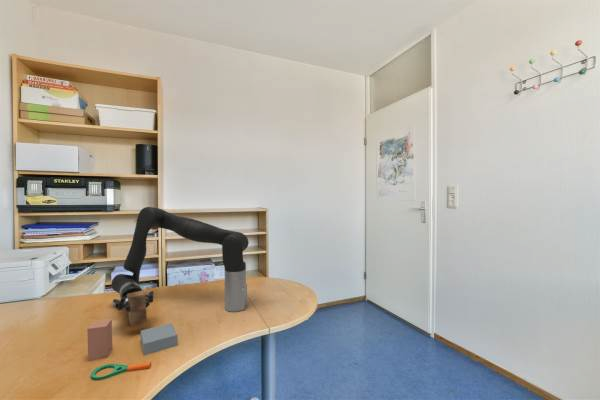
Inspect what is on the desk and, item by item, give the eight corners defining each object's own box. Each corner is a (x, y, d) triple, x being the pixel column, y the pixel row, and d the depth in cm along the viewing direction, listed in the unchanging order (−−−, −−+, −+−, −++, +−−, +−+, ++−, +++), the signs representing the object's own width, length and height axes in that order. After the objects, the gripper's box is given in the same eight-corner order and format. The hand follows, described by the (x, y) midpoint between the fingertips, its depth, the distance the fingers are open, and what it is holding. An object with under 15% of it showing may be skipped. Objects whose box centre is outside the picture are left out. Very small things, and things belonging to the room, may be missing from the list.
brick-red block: (112, 348, 91) (111, 319, 91) (107, 357, 87) (106, 326, 86) (94, 351, 90) (93, 321, 89) (88, 360, 85) (87, 328, 85)
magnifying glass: (86, 383, 76) (86, 377, 76) (96, 369, 82) (96, 363, 82) (147, 374, 79) (147, 369, 79) (153, 362, 85) (153, 356, 85)
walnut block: (144, 316, 105) (143, 290, 105) (146, 321, 102) (145, 294, 101) (128, 320, 102) (127, 293, 102) (130, 325, 98) (129, 297, 98)
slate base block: (171, 333, 102) (171, 322, 102) (177, 346, 94) (177, 334, 94) (140, 341, 96) (140, 330, 96) (143, 356, 88) (143, 344, 88)
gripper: (109, 288, 108) (114, 301, 95) (150, 280, 117) (159, 291, 104) (110, 307, 109) (114, 323, 95) (151, 297, 118) (160, 311, 104)
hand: (138, 306), depth 100 cm, fingers closed on walnut block, 5 cm apart
